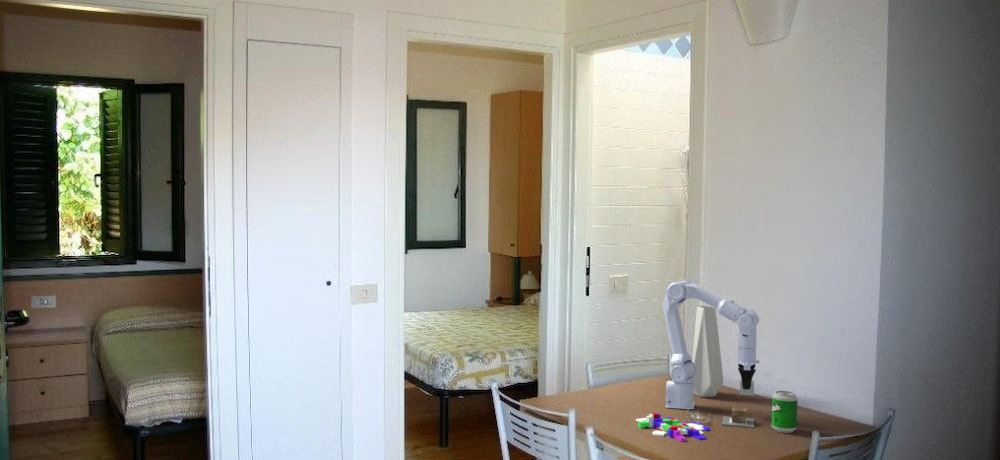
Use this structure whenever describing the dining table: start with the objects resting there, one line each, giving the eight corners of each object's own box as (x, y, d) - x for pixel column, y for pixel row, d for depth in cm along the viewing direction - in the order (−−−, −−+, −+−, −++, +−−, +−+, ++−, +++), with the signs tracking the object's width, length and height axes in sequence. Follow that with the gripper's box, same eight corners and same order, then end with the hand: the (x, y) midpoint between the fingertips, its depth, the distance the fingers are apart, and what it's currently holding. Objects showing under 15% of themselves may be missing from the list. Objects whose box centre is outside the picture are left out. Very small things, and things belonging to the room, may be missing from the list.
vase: (726, 394, 317) (728, 306, 316) (716, 400, 308) (718, 309, 306) (695, 389, 324) (696, 303, 322) (684, 395, 314) (686, 307, 313)
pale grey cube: (739, 394, 284) (740, 382, 284) (739, 391, 289) (740, 379, 289) (753, 395, 283) (754, 383, 283) (753, 392, 288) (753, 380, 287)
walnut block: (731, 422, 277) (732, 410, 277) (731, 418, 282) (732, 407, 281) (746, 423, 276) (746, 411, 276) (746, 420, 280) (746, 408, 280)
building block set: (725, 438, 263) (726, 424, 262) (667, 445, 256) (667, 430, 256) (682, 417, 286) (682, 404, 286) (627, 423, 279) (628, 409, 279)
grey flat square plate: (722, 425, 276) (722, 423, 276) (722, 417, 285) (722, 416, 285) (754, 427, 273) (754, 426, 273) (754, 419, 282) (754, 418, 282)
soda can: (796, 428, 273) (797, 391, 272) (796, 434, 265) (797, 396, 265) (771, 426, 275) (772, 389, 274) (771, 432, 268) (772, 394, 267)
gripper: (760, 351, 277) (759, 393, 278) (759, 344, 291) (758, 383, 292) (737, 350, 279) (736, 391, 280) (737, 342, 293) (736, 381, 294)
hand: (746, 387), depth 286 cm, fingers closed on pale grey cube, 4 cm apart
